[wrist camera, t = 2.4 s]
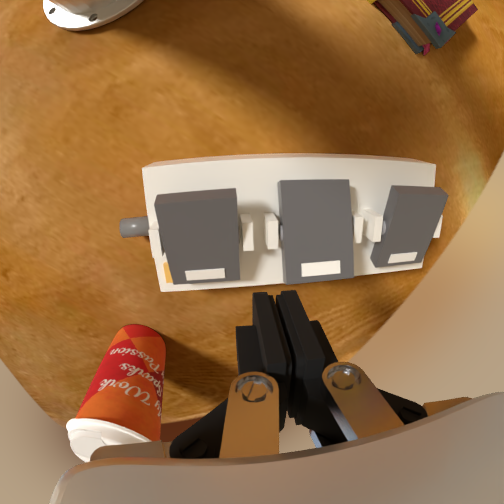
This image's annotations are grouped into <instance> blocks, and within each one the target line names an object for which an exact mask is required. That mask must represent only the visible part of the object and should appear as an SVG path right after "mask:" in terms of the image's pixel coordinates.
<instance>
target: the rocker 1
mask: <svg viewBox="0 0 504 504" xmlns="http://www.w3.org/2000/svg"><path fill="white" fill-rule="evenodd" d="M154 207H155V212H156V216H157V221H158V225H159V230H160V234H161V238H162V242H163V247H164V250H165V254H166V258H167V262H168V266H169V270H170V273H171V277H172V281H173V284H174V285H178V284H194V283H209V282H223V281H237V280H240V261H239V244H240V233H239V226H238V211H237V193H236V188H228V189H213V190H200V191H189V192H178V193H167V194H158V195H157V196H156V199H155V203H154Z"/></svg>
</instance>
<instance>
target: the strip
mask: <svg viewBox="0 0 504 504" xmlns="http://www.w3.org/2000/svg"><path fill="white" fill-rule="evenodd" d="M142 172H143V182H144V190H145V198H146V206H147V214H148V216H144V217H135V218H125V219H121V221H120V233H121V236H122V237H123V238H127V237H138V236H149V238H150V244H151V250H152V256H153V258H155V263H156V269H157V274H158V279H159V284H160V289H161V292H167V291H185V290H201V289H215V288H229V287H243V286H255V285H267V284H279V283H284V282H283V269H282V251H281V241H280V240H279V235H278V225H279V224H280V217H279V202H278V187H277V183H278V182H279V181H280V180H311V179H349V183H350V195H351V209H352V227H353V252H354V276H359V275H368V274H377V273H385V272H393V271H401V270H409V269H417V268H422V264H423V260H422V262H421V263H413V264H405V265H396V266H387V267H378V268H375V267H374V265H373V263H372V261H371V259H370V256H371V253H372V250H373V247H374V244H375V242H380V241H381V233H382V224H383V214H384V211H385V207H386V204H387V200H388V196H389V192H390V189H391V185H401V186H425V187H434V185H435V173H436V164H432V163H428V162H424V161H420V160H416V159H412V158H401V157H389V156H374V155H356V154H324V153H280V154H248V155H229V156H214V157H201V158H190V159H180V160H170V161H161V162H154V163H152V164H150V165H148V166H145V167H143V168H142ZM228 188H236V193H237V211H238V226H239V233H240V244H239V261H240V280H237V281H223V282H209V283H194V284H178V285H174V284H173V281H172V277H171V273H170V270H169V266H168V262H167V258H166V254H165V250H164V247H163V242H162V238H161V234H160V230H159V225H158V221H157V216H156V212H155V207H154V203H155V199H156V196H157V195H158V194H167V193H178V192H189V191H200V190H213V189H228ZM442 217H443V215H441V217H440V220H439V222H438V225H437V227H436V230H435V232H434V235H433V238H438V237H439V236H440V230H441V224H442ZM423 259H424V258H423Z"/></svg>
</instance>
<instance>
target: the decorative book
mask: <svg viewBox="0 0 504 504" xmlns="http://www.w3.org/2000/svg"><path fill="white" fill-rule="evenodd" d="M367 1H368V2H369V3H370V4H372V3H374V4H375V5H376V6H377V7H378V8H379V9H380V10H381V11H382V12H383V13H384V14H385V15H386V16H387V17H388V18H389V20H390V21H391V22H392V23H393V24H392V26H393V27H394V28H395V29H396V30H397V31H398V33H399V34H400V35H401V36H402V37H403V39H404V40H405V41H406V42H407V44H408V45H409V46H410V47H411V49H412V50H413V51H414V53H415V54H418V53H420V52H421V51H422V50H424V55H426V54H427V53H428V52H429V51H430V48H429V47H430V43H432V44H433V46H434V47H435V48H436V49H438V48H441V47H442V46H443V45H444V44H446V43H447V42H448V41H449V40H450V38H451V37H452V36H453V35H454V34H455V33H456V32H455V30H456V29H458V28H459V27H460V26H461V25H462V24H463V23H464V22H465V21H466V20H467V19H468V18H469V17H470V16H471V15H472V14H474V13H475V12H476V11H477V10H478V9H477V8H476V6H475V5H474V3H473V2H472V1H471V0H367Z"/></svg>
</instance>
